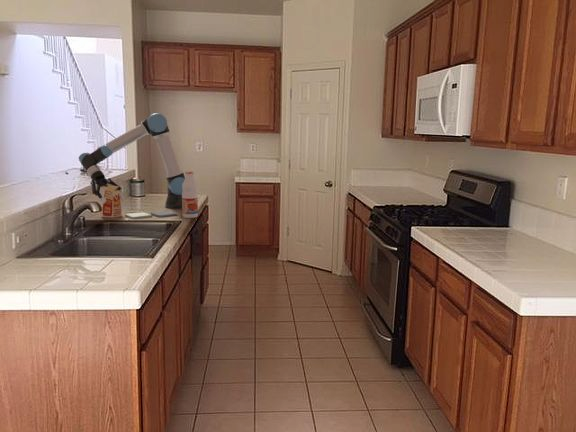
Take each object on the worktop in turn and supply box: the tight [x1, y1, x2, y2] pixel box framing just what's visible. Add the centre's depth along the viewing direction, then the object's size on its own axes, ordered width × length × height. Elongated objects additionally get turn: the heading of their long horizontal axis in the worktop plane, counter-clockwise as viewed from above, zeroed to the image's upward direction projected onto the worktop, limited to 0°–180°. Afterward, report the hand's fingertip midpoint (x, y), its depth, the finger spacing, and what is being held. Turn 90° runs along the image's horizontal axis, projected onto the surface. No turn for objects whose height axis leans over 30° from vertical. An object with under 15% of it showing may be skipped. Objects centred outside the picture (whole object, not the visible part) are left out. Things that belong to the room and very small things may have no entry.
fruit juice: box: [181, 170, 199, 219], centre depth 297 cm, size 9×9×28 cm
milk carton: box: [101, 183, 123, 218], centre depth 296 cm, size 9×9×20 cm
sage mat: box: [124, 211, 153, 220], centre depth 298 cm, size 12×12×1 cm
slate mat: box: [150, 210, 178, 218], centre depth 304 cm, size 12×12×1 cm
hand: (114, 200), depth 295 cm, fingers open, 13 cm apart
